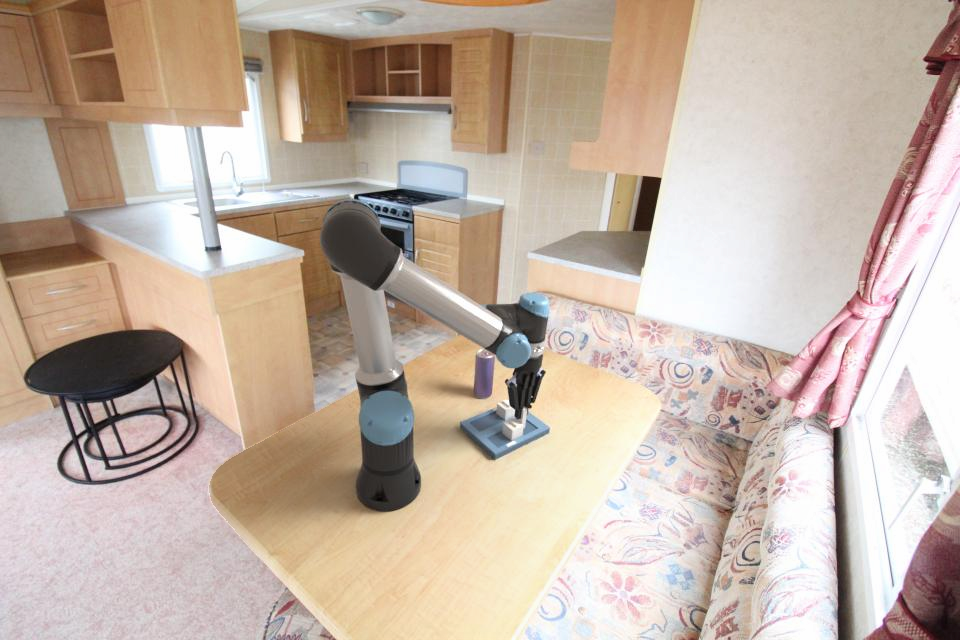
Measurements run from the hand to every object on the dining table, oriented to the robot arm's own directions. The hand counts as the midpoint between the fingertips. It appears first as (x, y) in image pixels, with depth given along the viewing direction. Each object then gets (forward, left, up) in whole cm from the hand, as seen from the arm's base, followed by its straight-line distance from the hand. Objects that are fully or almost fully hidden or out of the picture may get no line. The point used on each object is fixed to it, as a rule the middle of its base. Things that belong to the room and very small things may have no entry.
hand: (519, 426), depth 130 cm
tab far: (+2, +8, -2) cm, 8 cm away
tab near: (-3, 0, -2) cm, 3 cm away
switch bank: (-2, +4, -3) cm, 5 cm away
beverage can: (+4, +22, -3) cm, 23 cm away
